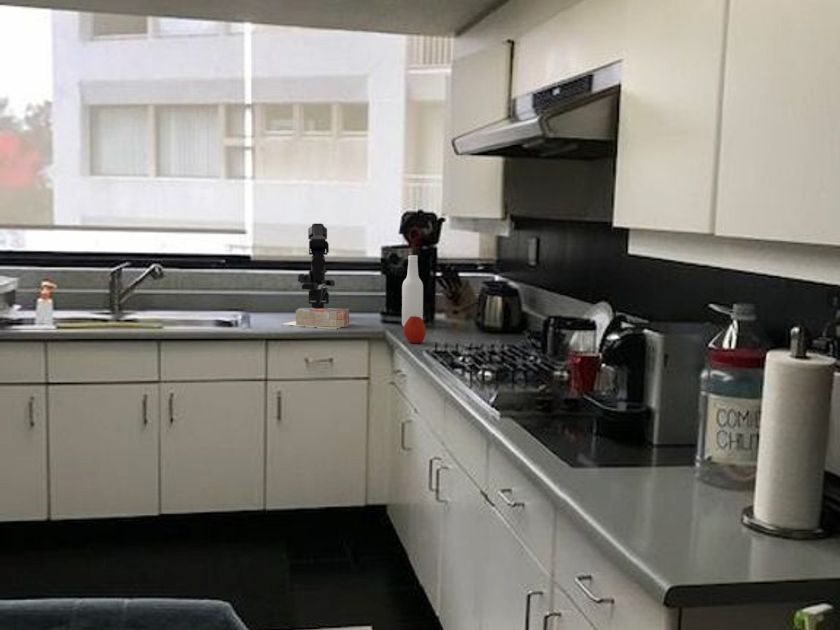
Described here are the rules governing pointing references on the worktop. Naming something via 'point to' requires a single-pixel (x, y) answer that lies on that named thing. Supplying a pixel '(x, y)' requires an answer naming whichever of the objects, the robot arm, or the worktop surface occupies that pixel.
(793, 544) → the worktop surface
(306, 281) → the robot arm
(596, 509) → the worktop surface
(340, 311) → the stack of blocks
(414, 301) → the alcohol
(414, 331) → the red oval lump
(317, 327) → the mat
